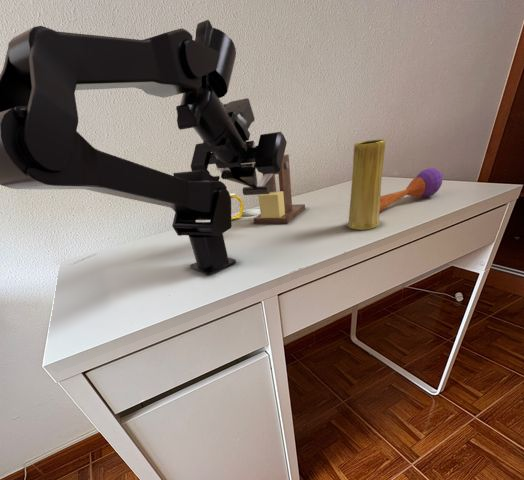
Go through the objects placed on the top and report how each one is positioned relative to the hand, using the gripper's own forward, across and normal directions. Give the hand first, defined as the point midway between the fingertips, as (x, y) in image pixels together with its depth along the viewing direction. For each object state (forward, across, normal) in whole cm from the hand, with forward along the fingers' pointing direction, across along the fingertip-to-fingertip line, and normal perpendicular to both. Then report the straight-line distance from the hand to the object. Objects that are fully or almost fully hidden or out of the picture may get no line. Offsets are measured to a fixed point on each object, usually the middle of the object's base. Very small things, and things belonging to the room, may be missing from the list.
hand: (255, 185), depth 62 cm
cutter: (+14, 0, -1) cm, 14 cm away
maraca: (+20, -28, -7) cm, 35 cm away
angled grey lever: (+5, 0, -4) cm, 6 cm away
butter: (+10, 0, +1) cm, 10 cm away
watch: (+13, +13, +1) cm, 18 cm away
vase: (+9, -22, +4) cm, 24 cm away
